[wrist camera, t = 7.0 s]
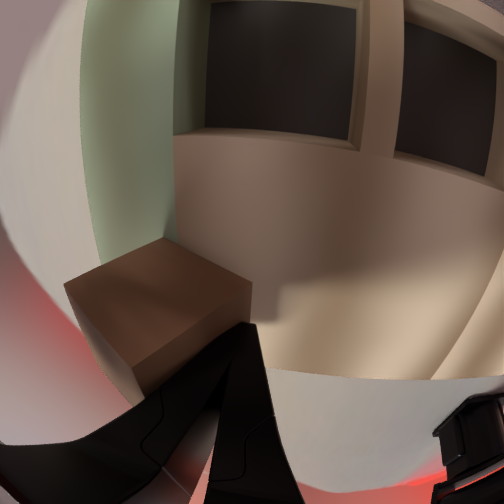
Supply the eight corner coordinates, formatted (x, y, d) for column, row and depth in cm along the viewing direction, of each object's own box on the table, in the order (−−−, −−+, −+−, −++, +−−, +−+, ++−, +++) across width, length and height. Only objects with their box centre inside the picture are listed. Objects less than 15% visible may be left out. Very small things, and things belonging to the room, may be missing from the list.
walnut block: (252, 282, 8) (131, 367, 5) (246, 369, 10) (166, 440, 7) (163, 237, 10) (63, 283, 7) (174, 319, 12) (99, 367, 9)
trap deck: (565, 95, 5) (600, 103, 2) (488, 340, 13) (503, 374, 10) (131, 3, 8) (89, -11, 5) (146, 297, 16) (121, 331, 13)
